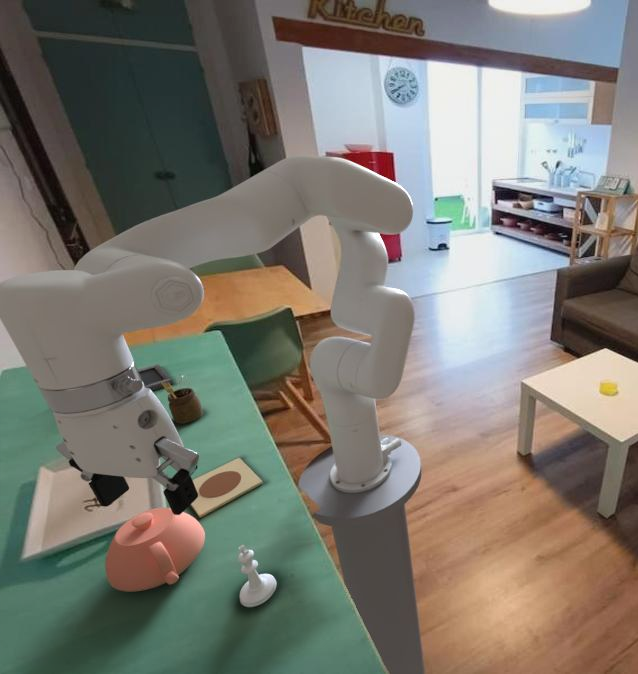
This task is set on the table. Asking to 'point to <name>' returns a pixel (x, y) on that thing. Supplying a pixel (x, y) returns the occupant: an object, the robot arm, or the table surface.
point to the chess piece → (254, 581)
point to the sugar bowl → (153, 549)
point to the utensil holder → (183, 404)
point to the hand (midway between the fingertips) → (151, 501)
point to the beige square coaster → (223, 486)
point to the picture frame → (154, 377)
